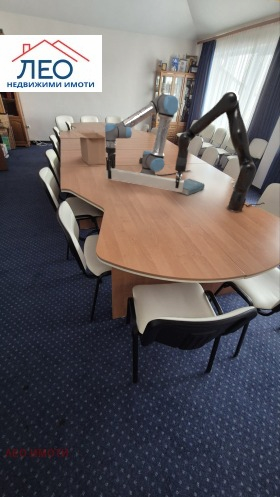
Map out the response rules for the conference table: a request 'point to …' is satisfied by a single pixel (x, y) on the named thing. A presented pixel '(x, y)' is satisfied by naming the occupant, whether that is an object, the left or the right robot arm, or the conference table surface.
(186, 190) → the book
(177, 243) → the conference table surface
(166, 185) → the bar
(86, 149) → the box
